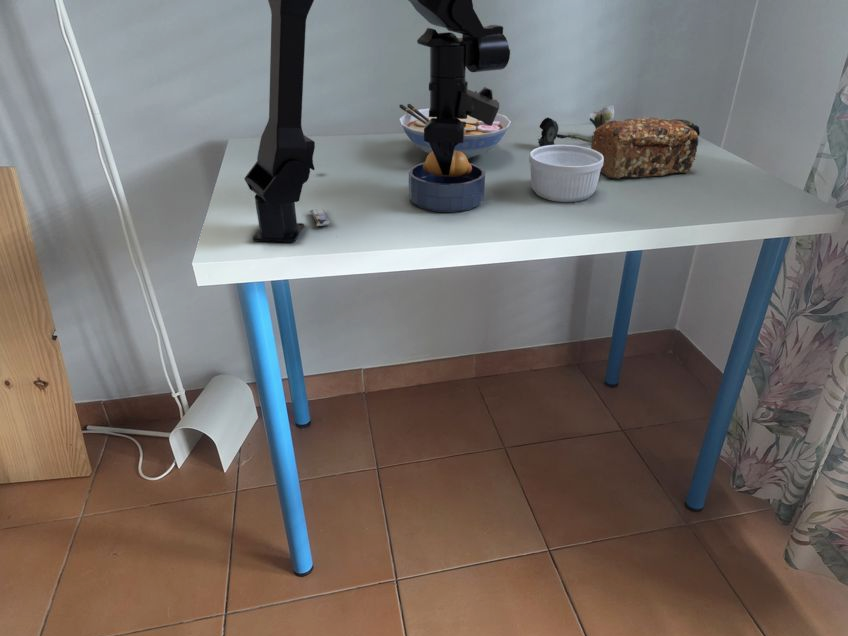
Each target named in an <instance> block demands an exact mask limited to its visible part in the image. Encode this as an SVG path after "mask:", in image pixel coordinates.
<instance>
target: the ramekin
mask: <svg viewBox="0 0 848 636" xmlns="http://www.w3.org/2000/svg"><path fill="white" fill-rule="evenodd" d="M528 162H529V164H530V182H531V183H530V184H531V188H532V190H533V192H535V194H536V195H537V196H539V197H540V198H541V199H545V200H549V201H552V202H558V203H559V202H560V203H575V202H581V201H584V200H587V199H589V198H591V196H592V195H593V194H594V193H595V191H596V190H597V186H598V184H599V183H598V182H599V179H600V174H601V172H600V171H601V168H602V166H603V162H604V157H603V155H602V154H601V153H599V152H597V151H595V150H593V149H591V148H590V147H585V146H581V145H574V144H555V145H548V146H542V147H540V146H539V147H535V148H534V149H532V150H531V151H530V153H529V158H528Z"/></svg>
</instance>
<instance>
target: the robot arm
mask: <svg viewBox="0 0 848 636" xmlns="http://www.w3.org/2000/svg"><path fill="white" fill-rule="evenodd" d="M314 1H315V0H267V2H268V5H269V9H270V15H271V19H270V21H271V22H270V23H271V24H270V56H269V57H270V58H269V59H270V60H269V62H270V63H269V98H268V99H269V100H268V104H269V105H268V120H267V122H266V124H265V127H264V130H263V132H262V134H261V136H260V141H259V146H258V152H257V158H256V162H255V163H254V164H253V166H252V167H251V169H250V170H249V171H248V172H247V174H246V175H245V177H244V181H245V183H246V185H247V187H248V189H249V190H250V191H251V192H253V193H254V194H255V195H254V202H255V208H256V215H257V222H258V227H259V228H258V229H257V231H256V232H255V233H254V234H253V236H252V241H254V242H276V243H295V242H296V241H297V239H299V237H300V234H301V233H302V232H303V230H304V228H305V224H304V223H303V222H298V221H297V211H296V204H295V203H298V202H300V198H301V195H302V191H303V187H304V184H305V183H307V182H308V180H309V178H310V174H311V170H313V171H315V164H314V159H313V158H314V153H315V148H316V145H315V144H316V143H315V142H316V141H314V140H313V139H311V138H309V137H308V136H307V135H305V133H304V131H303V127H302V117H303V95H304V94H303V92H304V75H305V73H304V71H305V51H306V50H305V49H306V32H307V31H306V29H307V28H306V27H307V19H308V15H309V13H310V11H311V8H312V6H313V4H314ZM407 1H408V2H409V3H410V4H411V5H412V6H413V8H414V9H415V11H416V12H417V13H418V14H419V15H421V16H422V17H423V18H424V19H425V21H427V22H428V23H429V24H431V25H432V26H435V27H439V28H443V29H446V30H447V31H448V32H437V30H436V29H435V28H430V27H426V30H425V31H424V33H423V34H421V35H420V36H419V38H418V39H417V40H416V43H417V44H418V45H421V46H425V47H428V48H429V82H428V92H429V108H430V109H429V108H428V109H429V117H436V118H431V119H430V120H429V121H428V122H427V123H426V125H425V128H424V141H425V142H429V144H430V146H431V148H432V150H433V153H434V155H435V157H436V160H437V162H438V164H439V167H440V169H441V172H442V174H443V175H449V173H450V168H451V163H452V158H453V153H454V148H455V146H456V145H458V144H459V143H463V141H464V128H465V127H466V122H464V121H460V120H459V119H467V116H470V117H473V118H475V119H477V120H480V121H482V122H484V124H486V125H489V126H492V124H493V122H494V119H495V117H496V114H497V113H498V112H499V110H500V102H499V101H498V99H494V97H493V96H494V95H493V90H492V89H490V88H488V87H486V86H484V87H483V88H482V89H480V90H479V91H477V90H475V91H474V90H471V89H468V87H469V85H468V81H467V79H466V73H467V72H466V69H467V71H468V72H471V73H480V72H481V73H482V72H490V71H500V70H501V71H502V70H504V69H505V68H507V66H508V64H509V62H510V58H511V49H510V47H509V42H508V40H507V37H506V36H505V35H504V26H503V25H499V24H490V25H487V26H484V25H483V24H482V22H481V20H480V18H479V16H478V14H477V12H476V10H475V9H474V4H473V0H407ZM454 33H457V34H461V37H457V36H456V34H454Z"/></svg>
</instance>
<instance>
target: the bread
mask: <svg viewBox="0 0 848 636" xmlns="http://www.w3.org/2000/svg"><path fill="white" fill-rule="evenodd" d="M591 141H592V143H591V146H590V147H591V148H590V149H593V150H595V151H597V152H599V153H601V154H602V155H603V157H604V162H603V166H602V168H601V171H600V173H602V174H603V175H605V176H606V177H608V178H609V179H616V180H617V179H618V180H620V179H621V178H623V177H627V178H648V177H660V176H661V177H663V176H667V175H670V174H671V175H672V174H678V173H681V174H682V173H684V174H686V173H688V172H689V171H691V169H692V167H693V163H694V161H695V160H696V156H697V151H698V146H699V136H698V135H697V133H696V131H694V130H693V129H692V128H690V127H688V126H687V125H686V124H684V123H683V122H680V121H677V120H673V119H668V118H658V117H641V118H640V117H636V118H634V119H633V118H630V119H629V118H628V119H624V120H616V119H614V120H611V121H610V122H606V123H605V124H603V125H601V126H599V127H598V128H597V129H596V128H595V130H594V131H593V138H592V140H591Z"/></svg>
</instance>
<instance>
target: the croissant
mask: <svg viewBox="0 0 848 636" xmlns="http://www.w3.org/2000/svg"><path fill="white" fill-rule="evenodd" d="M423 163H424V164H423V169H424V171H425V172H426V173H431V174H432V175H434V176H442V177H459V176H461V175H463V174H464V175H467V174H469V173H470V172H471V171H472V166H471V164H472V163H471V164H470V162H469V159H467V157H466V156H465V154H464V153H462V152H460V151H454V153H453V158H452V163H451V168H450V173H449V175H443V174H442V172H441V169H440V167H439V164H438V162H437V160H436V157H435V155H434V153H433V151H432V152H431V153H428V155H427V156H426V158H425V161H424V162H423Z"/></svg>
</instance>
